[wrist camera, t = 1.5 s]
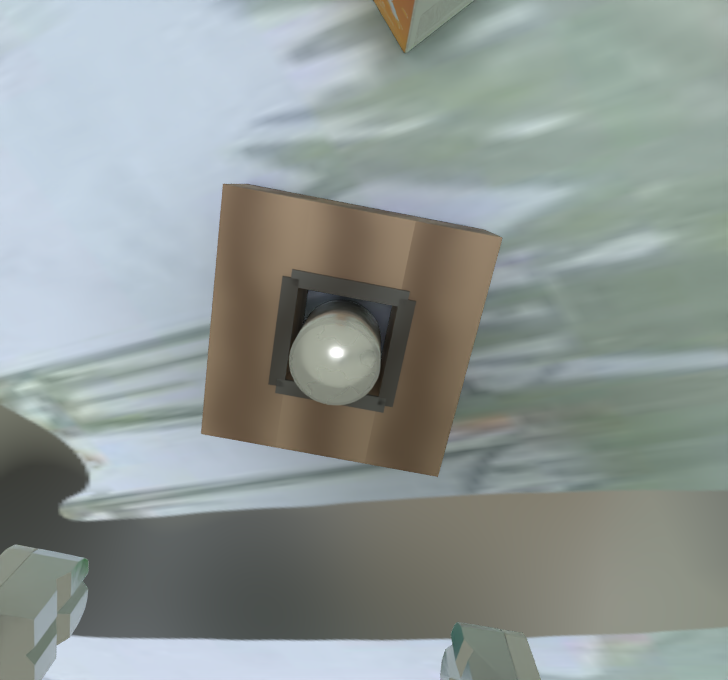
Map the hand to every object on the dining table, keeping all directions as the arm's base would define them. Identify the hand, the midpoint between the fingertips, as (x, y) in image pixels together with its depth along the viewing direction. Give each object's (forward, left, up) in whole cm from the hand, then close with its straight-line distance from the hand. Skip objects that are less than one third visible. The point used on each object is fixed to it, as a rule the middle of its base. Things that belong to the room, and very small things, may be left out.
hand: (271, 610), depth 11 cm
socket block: (0, 0, -25) cm, 25 cm away
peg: (0, 0, -21) cm, 21 cm away
